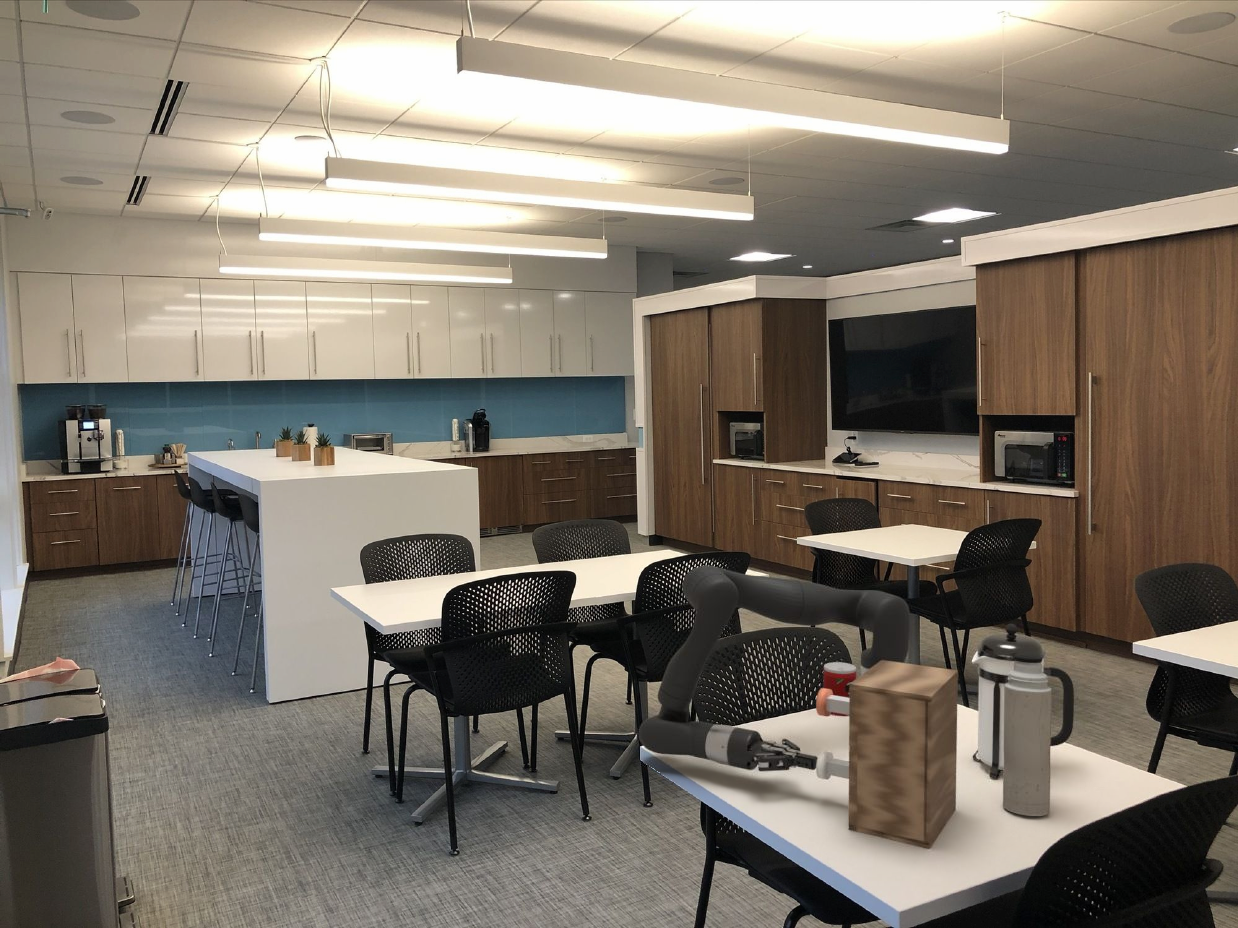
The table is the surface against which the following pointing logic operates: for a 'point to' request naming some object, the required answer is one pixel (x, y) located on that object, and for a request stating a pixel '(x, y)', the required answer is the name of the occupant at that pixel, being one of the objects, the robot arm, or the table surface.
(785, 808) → the table surface
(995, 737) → the coffee press
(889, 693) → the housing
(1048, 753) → the thermos bottle
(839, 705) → the salmon round knob
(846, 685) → the canned food
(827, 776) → the grey plunger
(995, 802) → the table surface
